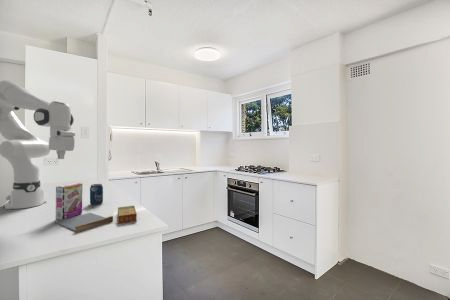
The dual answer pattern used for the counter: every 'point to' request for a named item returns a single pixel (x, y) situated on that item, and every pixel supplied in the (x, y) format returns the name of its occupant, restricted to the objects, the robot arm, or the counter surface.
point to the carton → (126, 214)
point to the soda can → (96, 194)
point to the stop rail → (93, 224)
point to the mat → (78, 220)
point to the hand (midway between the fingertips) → (61, 159)
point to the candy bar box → (68, 200)
